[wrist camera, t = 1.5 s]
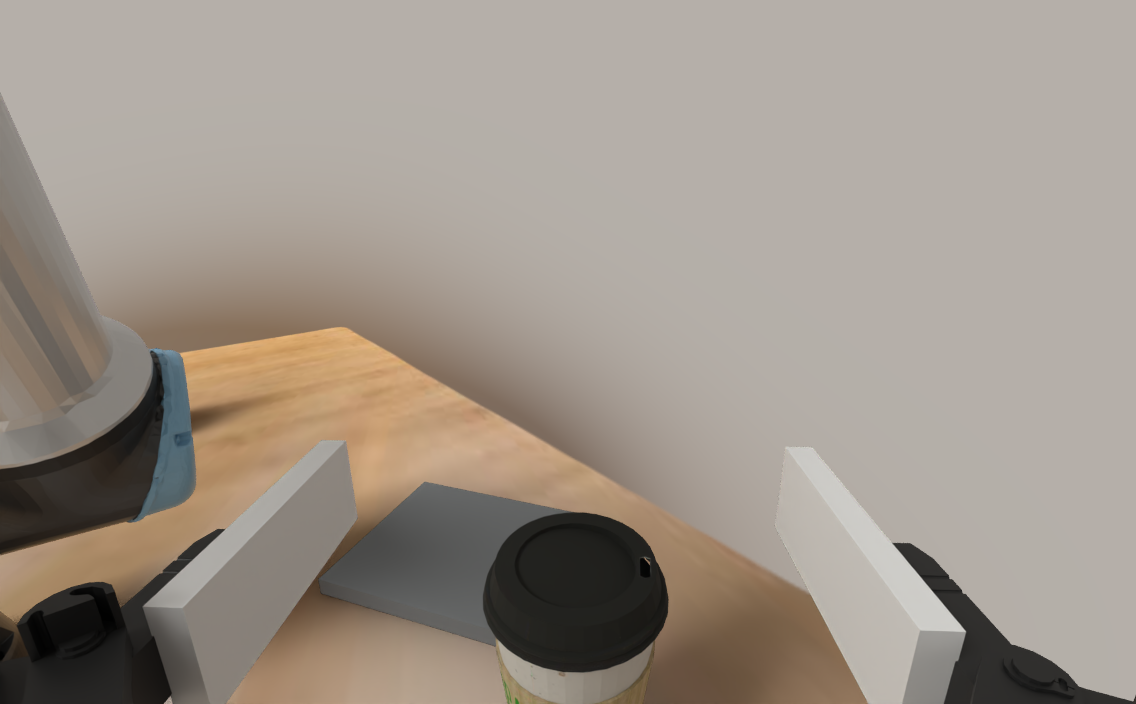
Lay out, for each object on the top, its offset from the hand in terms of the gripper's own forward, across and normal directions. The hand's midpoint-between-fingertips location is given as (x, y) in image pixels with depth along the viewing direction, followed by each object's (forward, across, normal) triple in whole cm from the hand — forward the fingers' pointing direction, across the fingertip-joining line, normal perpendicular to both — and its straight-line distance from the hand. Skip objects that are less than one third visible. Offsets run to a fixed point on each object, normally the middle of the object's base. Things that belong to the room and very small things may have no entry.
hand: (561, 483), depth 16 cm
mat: (+27, -11, -25) cm, 38 cm away
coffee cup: (+9, 0, -25) cm, 27 cm away
